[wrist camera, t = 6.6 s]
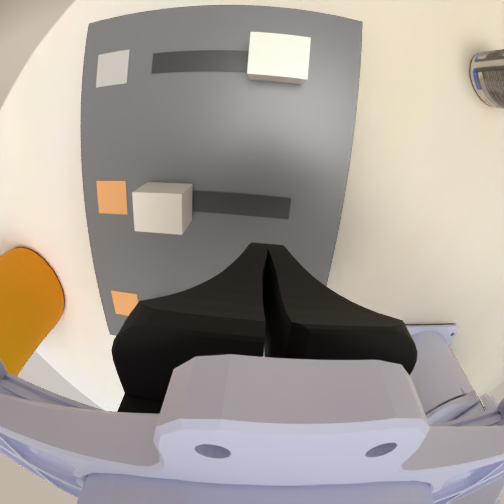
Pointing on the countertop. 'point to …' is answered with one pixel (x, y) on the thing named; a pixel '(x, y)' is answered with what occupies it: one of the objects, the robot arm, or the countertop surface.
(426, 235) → the countertop surface
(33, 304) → the beer bottle
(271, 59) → the block
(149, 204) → the middle tab
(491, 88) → the pill bottle
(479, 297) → the countertop surface
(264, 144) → the switch board
